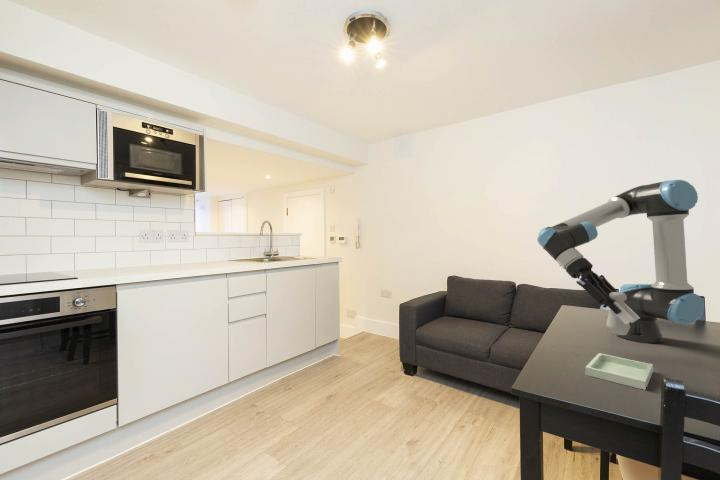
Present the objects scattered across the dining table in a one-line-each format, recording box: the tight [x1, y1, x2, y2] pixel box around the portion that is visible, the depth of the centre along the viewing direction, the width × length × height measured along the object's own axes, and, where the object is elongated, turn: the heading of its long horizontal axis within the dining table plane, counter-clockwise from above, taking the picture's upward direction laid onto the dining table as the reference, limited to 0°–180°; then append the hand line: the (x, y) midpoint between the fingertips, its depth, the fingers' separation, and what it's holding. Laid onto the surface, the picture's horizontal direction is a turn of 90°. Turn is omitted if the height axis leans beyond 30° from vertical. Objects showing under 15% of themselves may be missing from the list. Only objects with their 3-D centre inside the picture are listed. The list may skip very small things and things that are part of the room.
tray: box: [584, 352, 654, 391], centre depth 99 cm, size 18×14×2 cm
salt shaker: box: [605, 291, 630, 336], centre depth 99 cm, size 6×6×13 cm
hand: (632, 321), depth 95 cm, fingers closed on salt shaker, 3 cm apart
